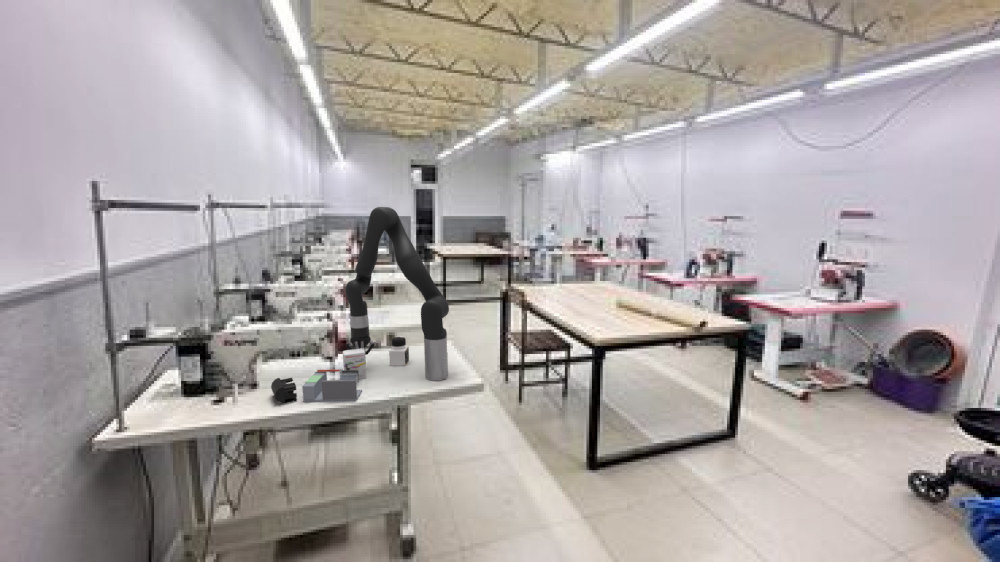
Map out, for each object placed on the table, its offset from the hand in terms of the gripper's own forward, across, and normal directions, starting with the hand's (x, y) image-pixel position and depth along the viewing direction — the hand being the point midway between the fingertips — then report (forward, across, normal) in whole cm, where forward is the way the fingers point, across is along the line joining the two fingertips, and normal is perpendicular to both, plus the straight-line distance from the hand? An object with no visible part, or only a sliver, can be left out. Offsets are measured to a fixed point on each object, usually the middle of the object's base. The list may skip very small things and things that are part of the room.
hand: (361, 363), depth 186 cm
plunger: (+1, +5, +18) cm, 19 cm away
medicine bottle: (+3, -15, -6) cm, 17 cm away
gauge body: (+3, +4, +24) cm, 24 cm away
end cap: (+3, +21, +28) cm, 35 cm away
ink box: (+3, 0, +10) cm, 11 cm away
